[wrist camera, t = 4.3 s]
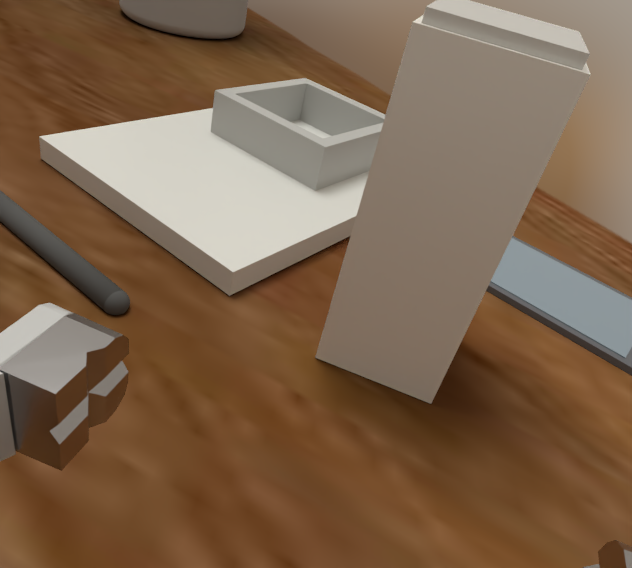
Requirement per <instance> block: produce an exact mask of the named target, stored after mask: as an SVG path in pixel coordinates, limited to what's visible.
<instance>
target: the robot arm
mask: <svg viewBox="0 0 632 568" xmlns="http://www.w3.org/2000/svg"><path fill="white" fill-rule="evenodd" d="M128 354H129V339H128V338H127V337H125V336H124V335H122V334H119V333H117V332H115V331H113V330H111V329H108V328H106V327H104V326H102V325H99V324H97V323H95V322H93V321H91V320H88V319H86V318H84V317H82V316H79V315H77V314H75V313H72V312H70V311H67V310H65V309H63V308H61V307H58V306H56V305H54V304H52V303H46V304H42V305H39V306H37V307H36V308H34V309H33V310H31V311H30V312H29V313H27V314H26V315H25V316H23V317H22V318H20V319H19V320H18V321H16V322H15V323H14V324H12V325H11V326H9V327H8V328H7V329H5V330H4V331H2V332H1V333H0V461H2V460H4V459H6V458H8V457H11V456H13V455H15V454H16V451H17V452H19V453H22V454H24V455H26V456H29V457H31V458H33V459H35V460H38V461H40V462H42V463H45V464H47V465H49V466H52V467H54V468H56V469H59V470H61V471H62V470H63V469H64V468H65V466H66V465H67V464H68V463H69V462H70V461H71V460H72V459H73V458H74V456H75V455H76V454H77V453H78V452H79V451H80V450H81V449H82V448H83V447H84V445H85V444H86V443H87V442H88V441H89V428H90V427H93V426H96V425H99V424H101V423H104V422H106V421H107V420H108V419H109V417H110V416H111V415H112V414H113V413H114V412H115V410H116V409H117V407H118V406H119V404H120V402H121V400H122V398H123V397H124V395H125V391H126V388H127V384H128V370H127V369H126V367H125V365H124V364H123V362H122V360H123V359H124V358H125V357H126V356H127V355H128ZM598 555H599V564H596V565H591V566H586V567H583V568H632V546H629V545H627V544H624V543H622V542H619V541H617V540H614V541H611V542H607V543H606V544H605V545H604V546H603V547H602V548H601V549H600V550H599V551H598Z"/></svg>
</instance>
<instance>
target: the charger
mask: <svg viewBox="0 0 632 568" xmlns="http://www.w3.org/2000/svg"><path fill="white" fill-rule="evenodd" d="M589 55H590V53H589V51H588V49H587V47H586V45H585V43H584V41H583V39H582V37H581V34H580V32H578V31H575V30H571V29H568V28H564V27H561V26H557V25H554V24H550V23H547V22H543V21H540V20H536V19H533V18H529V17H526V16H522V15H519V14H515V13H512V12H508V11H505V10H501V9H498V8H494V7H490V6H487V5H484V4H480V3H476V2H473V1H469V0H437V1H435V2H433V3H431V4H430V5H428V6H426V9H425V12H424V15H423V16H421V17H419V18H418V19H417V20H415V21H413V22H412V26H411V29H410V33H409V36H408V39H407V43H406V47H405V50H404V53H403V57H402V61H401V64H400V67H399V71H398V74H397V77H396V81H395V84H394V88H393V91H392V95H391V98H390V102H389V105H388V108H387V112H386V115H385V119H384V122H383V126H382V129H381V133H380V136H379V140H378V143H377V146H376V150H375V153H374V157H373V160H372V164H371V167H370V171H369V174H368V178H367V181H366V184H365V188H364V191H363V195H362V198H361V202H360V205H359V209H358V212H357V215H356V219H355V222H354V226H353V229H352V233H351V236H350V240H349V243H348V247H347V250H346V253H345V257H344V260H343V264H342V267H341V271H340V274H339V278H338V281H337V284H336V288H335V291H334V295H333V298H332V302H331V305H330V309H329V312H328V316H327V319H326V322H325V326H324V329H323V333H322V336H321V340H320V343H319V347H318V350H317V353H316V357H315V358H317V359H320V360H322V361H325V362H327V363H330V364H332V365H335V366H337V367H340V368H342V369H345V370H347V371H350V372H352V373H355V374H357V375H360V376H362V377H365V378H367V379H370V380H372V381H375V382H377V383H380V384H382V385H385V386H387V387H390V388H392V389H395V390H397V391H400V392H402V393H405V394H407V395H410V396H412V397H415V398H417V399H420V400H422V401H425V402H427V403H430V404H431V403H432V401H433V399H434V397H435V395H436V393H437V391H438V389H439V387H440V385H441V383H442V381H443V379H444V376H445V374H446V372H447V370H448V368H449V366H450V364H451V362H452V360H453V358H454V356H455V354H456V352H457V350H458V348H459V345H460V343H461V341H462V339H463V337H464V335H465V333H466V331H467V329H468V327H469V325H470V323H471V321H472V319H473V317H474V314H475V312H476V310H477V308H478V306H479V304H480V302H481V300H482V298H483V296H484V294H485V292H486V290H487V288H488V286H489V283H490V281H491V279H492V277H493V275H494V273H495V271H496V269H497V267H498V265H499V263H500V261H501V259H502V257H503V255H504V252H505V250H506V248H507V246H508V244H509V242H510V240H511V238H512V236H513V234H514V232H515V230H516V228H517V226H518V223H519V221H520V219H521V217H522V215H523V213H524V211H525V209H526V207H527V205H528V203H529V201H530V199H531V197H532V195H533V192H534V190H535V188H536V186H537V184H538V182H539V180H540V178H541V176H542V174H543V172H544V170H545V168H546V165H547V163H548V161H549V159H550V157H551V155H552V153H553V151H554V149H555V147H556V145H557V143H558V141H559V139H560V137H561V135H562V133H563V130H564V128H565V126H566V124H567V122H568V120H569V118H570V116H571V114H572V112H573V110H574V108H575V106H576V103H577V101H578V99H579V97H580V95H581V93H582V91H583V89H584V87H585V85H586V82H587V81H588V79H589V77H590V75H591V74H590V72H589V69H588V67H587V64H586V61H587V59H588V57H589Z"/></svg>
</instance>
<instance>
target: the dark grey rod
mask: <svg viewBox="0 0 632 568" xmlns="http://www.w3.org/2000/svg"><path fill="white" fill-rule="evenodd" d="M0 222H2V223H3V224H4V225H5V226H6V227H7V228H9V229H10V230H11V231H12V232H13V233H14V234H16V235H17V236H18V237H19V238H20V239H21V240H23V241H24V242H25V243H26V244H27V245H28V246H30V247H31V248H32V249H33V250H34V251H35V252H37V253H38V254H39V255H40V256H41V257H42V258H44V259H45V260H46V261H47V262H48V263H49V264H51V265H52V266H53V267H54V268H55V269H56V270H58V271H59V272H60V273H61V274H62V275H63V276H65V277H66V278H67V279H68V280H69V281H70V282H72V283H73V284H74V285H75V286H76V287H77V288H79V289H80V290H81V291H82V292H83V293H84V294H86V295H87V296H88V297H89V298H90V299H91V300H93V301H94V302H95V303H96V304H97V305H98V306H100V307H101V308H102V309H103V310H104V311H105V312H107V313H108V314H111V315H120V314H123V313H125V312H126V311H127V309H128V308H129V305H130V299H129V297H128V295H127V294H126V293H125V292H124V291H123V290H122V289H121V288H119V287H118V286H117V285H116V284H114V283H113V282H112V281H111V280H110V279H108V278H107V277H106V276H105V275H103V274H102V273H101V272H100V271H98V270H97V269H96V268H95V267H94V266H92V265H91V264H90V263H89V262H87V261H86V260H85V259H84V258H82V257H81V256H80V255H79V254H78V253H76V252H75V251H74V250H73V249H71V248H70V247H69V246H68V245H67V244H65V243H64V242H63V241H62V240H60V239H59V238H58V237H57V236H55V235H54V234H53V233H52V232H51V231H49V230H48V229H47V228H46V227H44V226H43V225H42V224H41V223H39V222H38V221H37V220H36V219H35V218H33V217H32V216H31V215H30V214H28V213H27V212H26V211H25V210H24V209H22V208H21V207H20V206H19V205H17V204H16V203H15V202H14V201H12V200H11V199H10V198H9V197H8V196H6V195H5V194H4V193H3V192H1V191H0Z"/></svg>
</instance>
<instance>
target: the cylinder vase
mask: <svg viewBox="0 0 632 568" xmlns="http://www.w3.org/2000/svg"><path fill="white" fill-rule="evenodd" d="M119 3H120V7H121V9H122V11H123V12H124V13H125V14H126V15H127V16H128V17H129V18H131V19H132V20H134V21H136V22H138V23H140V24H142V25H145V26H147V27H150V28H153V29H156V30H160V31H163V32H167V33H171V34H176V35H181V36H187V37H194V38H204V39H226V38H232V37H235V36H237V35H239V34H240V33H241V32H242V31H243V30H244V27H245V21H246V13H247V6H248V0H119Z"/></svg>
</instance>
